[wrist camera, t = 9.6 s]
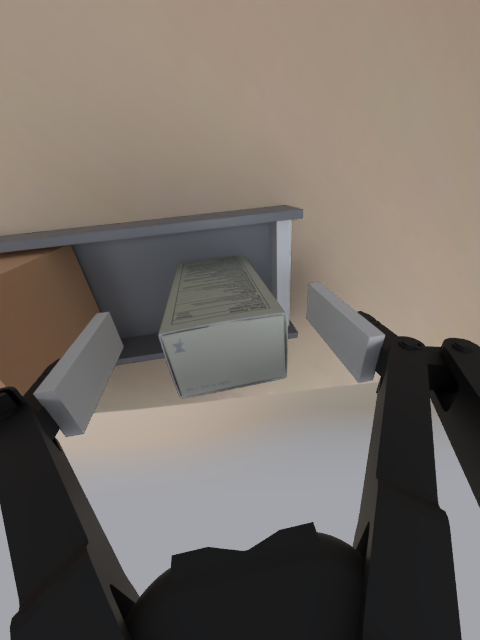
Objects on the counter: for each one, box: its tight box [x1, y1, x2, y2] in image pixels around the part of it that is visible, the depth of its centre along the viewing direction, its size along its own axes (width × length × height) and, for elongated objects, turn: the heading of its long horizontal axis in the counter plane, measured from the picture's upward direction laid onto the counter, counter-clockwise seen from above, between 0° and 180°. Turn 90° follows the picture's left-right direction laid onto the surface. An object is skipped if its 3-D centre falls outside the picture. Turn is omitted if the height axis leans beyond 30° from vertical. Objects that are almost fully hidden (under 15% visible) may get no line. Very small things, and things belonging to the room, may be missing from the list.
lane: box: [0, 205, 303, 365], centre depth 21 cm, size 24×11×4 cm, turn 95°
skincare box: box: [158, 255, 288, 398], centre depth 17 cm, size 6×4×12 cm
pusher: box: [0, 245, 100, 396], centre depth 16 cm, size 6×9×11 cm, turn 5°
